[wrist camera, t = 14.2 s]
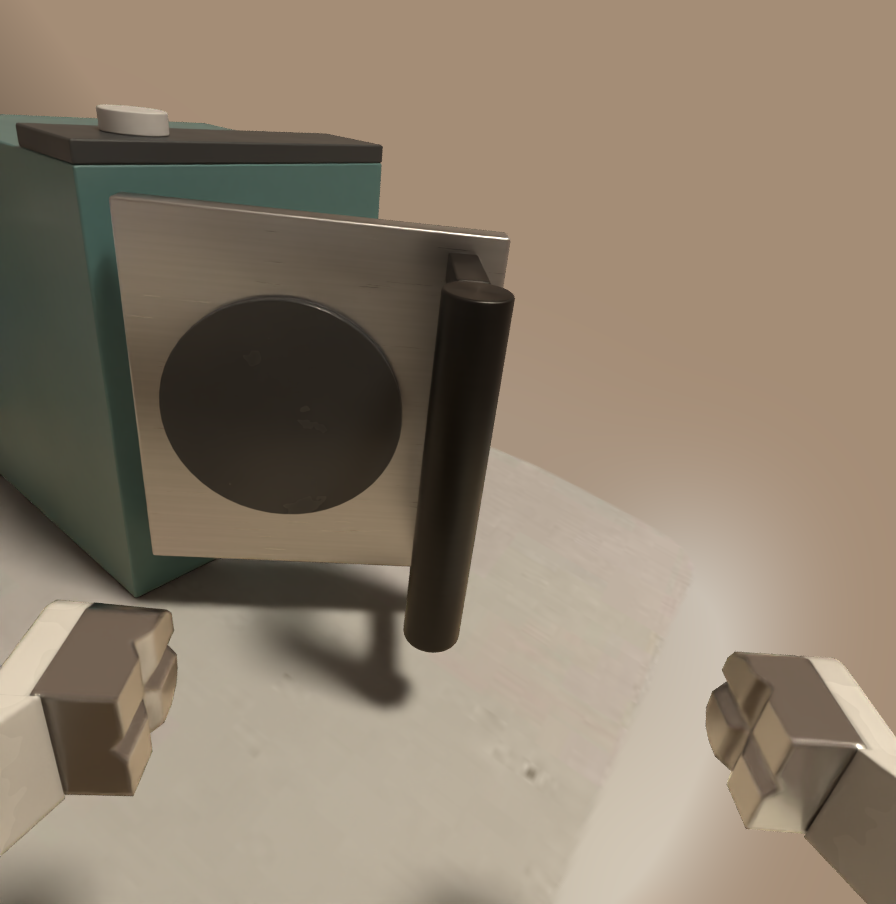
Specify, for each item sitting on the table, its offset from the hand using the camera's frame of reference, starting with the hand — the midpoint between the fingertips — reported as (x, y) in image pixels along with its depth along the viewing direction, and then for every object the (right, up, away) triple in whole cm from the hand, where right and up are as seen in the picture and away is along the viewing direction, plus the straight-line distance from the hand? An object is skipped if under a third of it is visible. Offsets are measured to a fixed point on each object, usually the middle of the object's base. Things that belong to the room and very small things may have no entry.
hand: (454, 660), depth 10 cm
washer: (-12, +2, +20) cm, 23 cm away
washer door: (-5, -2, +11) cm, 12 cm away
